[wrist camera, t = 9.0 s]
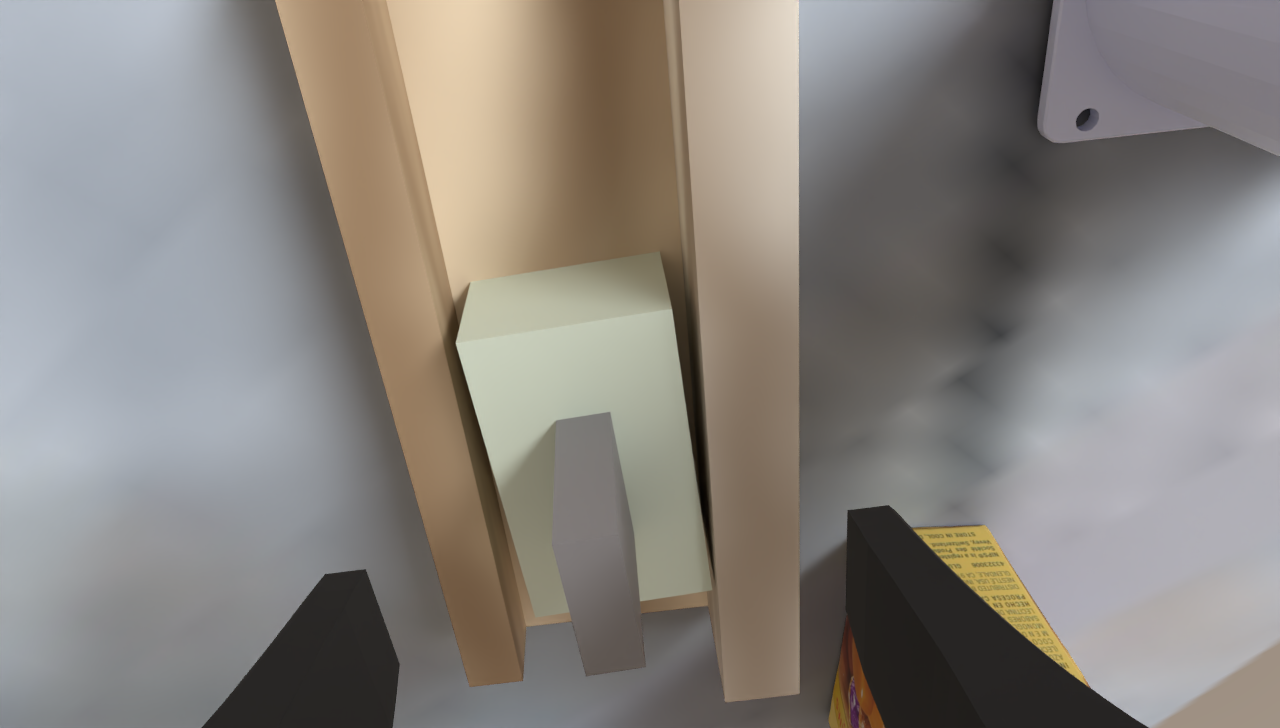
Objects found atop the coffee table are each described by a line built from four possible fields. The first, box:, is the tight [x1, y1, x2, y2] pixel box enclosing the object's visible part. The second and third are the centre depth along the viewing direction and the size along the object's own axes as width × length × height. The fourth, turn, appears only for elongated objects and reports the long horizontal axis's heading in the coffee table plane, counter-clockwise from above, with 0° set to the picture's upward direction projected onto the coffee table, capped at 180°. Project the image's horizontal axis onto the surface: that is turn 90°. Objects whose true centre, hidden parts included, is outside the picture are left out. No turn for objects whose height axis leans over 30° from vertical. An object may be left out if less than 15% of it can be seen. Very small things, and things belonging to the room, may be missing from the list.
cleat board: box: [275, 0, 800, 703], centre depth 20 cm, size 9×20×4 cm, turn 6°
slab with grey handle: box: [456, 251, 712, 676], centre depth 20 cm, size 4×8×7 cm, turn 9°
